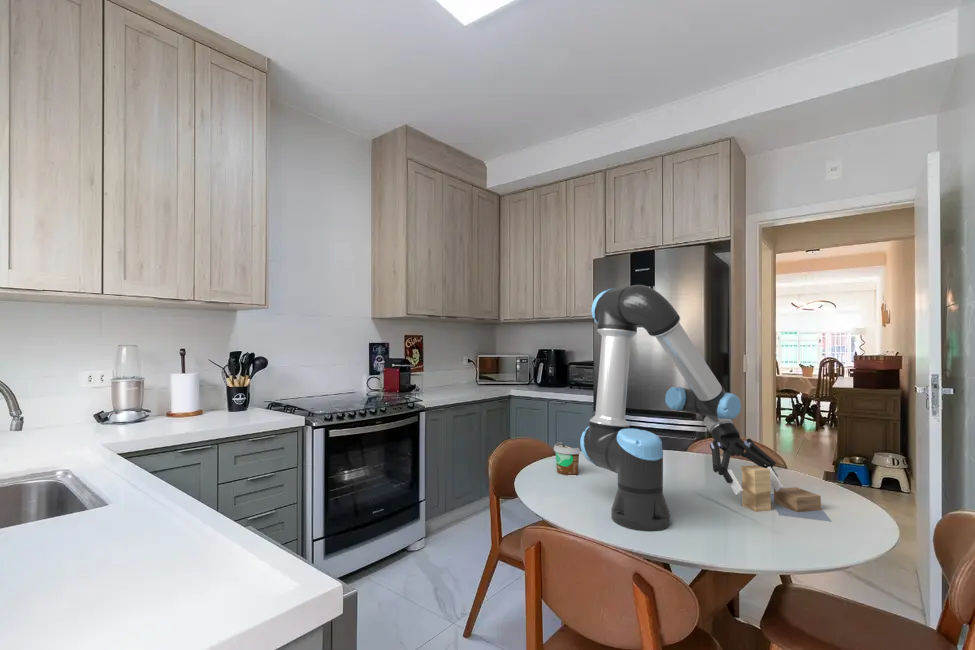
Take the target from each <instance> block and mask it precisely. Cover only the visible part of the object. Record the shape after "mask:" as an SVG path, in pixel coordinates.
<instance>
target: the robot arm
mask: <svg viewBox="0 0 975 650" xmlns="http://www.w3.org/2000/svg"><path fill="white" fill-rule="evenodd" d="M591 316H592V319H594V322H595V323H596V324H597V328H596V330H597V332H598V334H600V336H601V340H600V341H601V342H600V354H599V355H600V356H599V366H598V367H599V368H598V379H597V390H596V403H595V413H594V414H595V415H593V417H591V418H590V419H589V423H588V424H589V425H588V426H587V427H586V428H585V430H584V431H582V433H581V436H580V440H579V441H580V451H581V452H582V455H583V456H584V458H585V459H586V460H587V461H588V462H590V463H591V464H593V465H594V466H596V467H599V468H603V469H604V470H605V469H606V470H608V471H610V472H613V473H615V474H617V490H616V494H615V495H614V500H613V503H612V507H611V510H610V512H611V519H612V520H613V522H615V523H616V524H618V525H620V526H621V527H625V528H628V529H633V530H637V531H638V530H640V531H647V532H648V531H652V532H653V531H660V530H661V531H662V530H666V529H667V528H668V527H670V525H671V514H670V510H669V508H668V504H667V501H666V499H665V498H666V497H665V496H664V450H663V442H662V439H661V438H660V437H659V435H657V434H655V433H653V432H651V431H648V430H645V429H639V428H630V423H629V422H628V421H627V420H626V409H627V408H626V407H627V406H626V405H627V397H628V396H627V393H628V382H629V368H630V355H631V341H632V338H633V337H635V336H636V334H637V333H638V326H640V327H641V328H643V329H644V330H645V331H646V332H647V334H648V336H650V337H655V339H656V340H657V341H658V343H659V344H660V346H661V348H662V349H663V350H664V351H665V353H666V354H667V356H668V357H669V359H670V360H671V362H672V363H673V364H674V366H675V367H676V369H677V370H678V372H679V373H680V376H682V377H683V379H684V381H685V382H686V383H687V385H688V386H689V388H686V387H682V386H672V387H670V388H669V389H668V390H667V391H666V393H665V398H664V399H665V400H664V401H665V404H666V406H667V407H668V408H669V409H671V410H674V411H676V412H683V413H689V414H695V415H699V416H700V418H701V420H702V421H703V423H704V424H705V427H706V428H707V430H708V432H709V433H710V434H711V437H712V439H713V441H712V442H711V443H710V444H709V448H710V450H711V458H712V461H711V462H712V471H713V472H714V473H717V474H718V475H719V476H723V479H724V480H725V482H726V483H727V484H729V486H730V487H731V489H732V491H733V493H734V495H735V496H739V495H740V494H742V491H743V489H742V485H740V482H739V480H738V479H737V478H736V476H735V474H734V472H733V470H732V469H728V468H729V463H730V460H731V457H735V456H737V457H740V456H741V457H742V458H746V459H748V460H749V461H750V462H752V463H754V465H758V466H761V467H764V468H767V469H770V486H772V488H773V490H774V489H775V491H776V492H778V491H780V490H781V489H782V488H784V486H783V484H782V482H781V481H780V479H779V476H778V474H777V472H776V470H775V469H774V468H773V467H774V466H775V465H776V464H777V462H776V461H775V460H773V458H771V457H770V456H769V455H768V454H767V453H766V452H764V451H763V450H762V449H761V448H760V447H759V446H757V445H756V444H755V443H754V441H753V440H752V439H751V438H747V439H746V440H743V439H742V438H741V436H740V432H739V430H738V429H737V428H736V426H735V424H734V423H733V421H732V420H734V419H736V418H737V417H738V416H739V414H740V413H741V409H742V403H741V399H740V397H738V396H737V395H736V394H734V393H730V392H726V391H725V389H724V388H723V386H722V385H721V383H720V382H719V381H718V379H717V377H716V376H715V374H714V373H713V371H712V370H711V368H710V367H709V365H708V364H707V363H706V361H705V360H704V358H703V356H702V355H701V353H700V352H699V351H698V349H697V347H696V345H694V343H693V341H692V340H691V338H690V337H689V335H688V334H687V332H686V331H685V329H684V328H683V326H682V325H681V324H680V321H681V316H680V315H679V314H678V312H677V310H676V309H675V308H674V307H673V305H672V304H671V303H670V302H669V300H668V299H667V298H665V297H664V296H663V295H662V294H661V293H660V292H658V291H657V290H656V289H654V288H652V287H649V286H647V285H643V284H634V285H633V284H632V285H629V286H622V287H612V288H609V289H606V290H603V291H602V292H600V293H599V294H598V295H596V297H595V298H594V300H593V302H592V305H591ZM721 450H722V451H723V452H722V459H721Z"/></svg>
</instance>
